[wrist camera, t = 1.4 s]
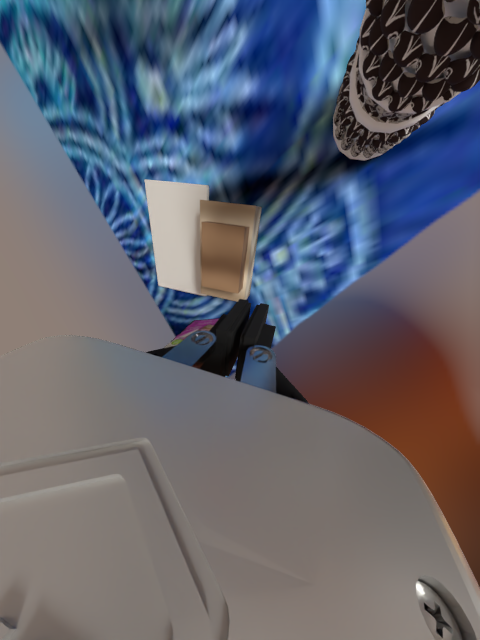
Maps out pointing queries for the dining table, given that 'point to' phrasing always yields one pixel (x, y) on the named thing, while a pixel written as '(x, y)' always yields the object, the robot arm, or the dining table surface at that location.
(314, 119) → the dining table surface
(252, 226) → the birch stand
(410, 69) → the decorative candle
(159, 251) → the off-white mat
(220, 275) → the walnut tile
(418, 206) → the dining table surface
